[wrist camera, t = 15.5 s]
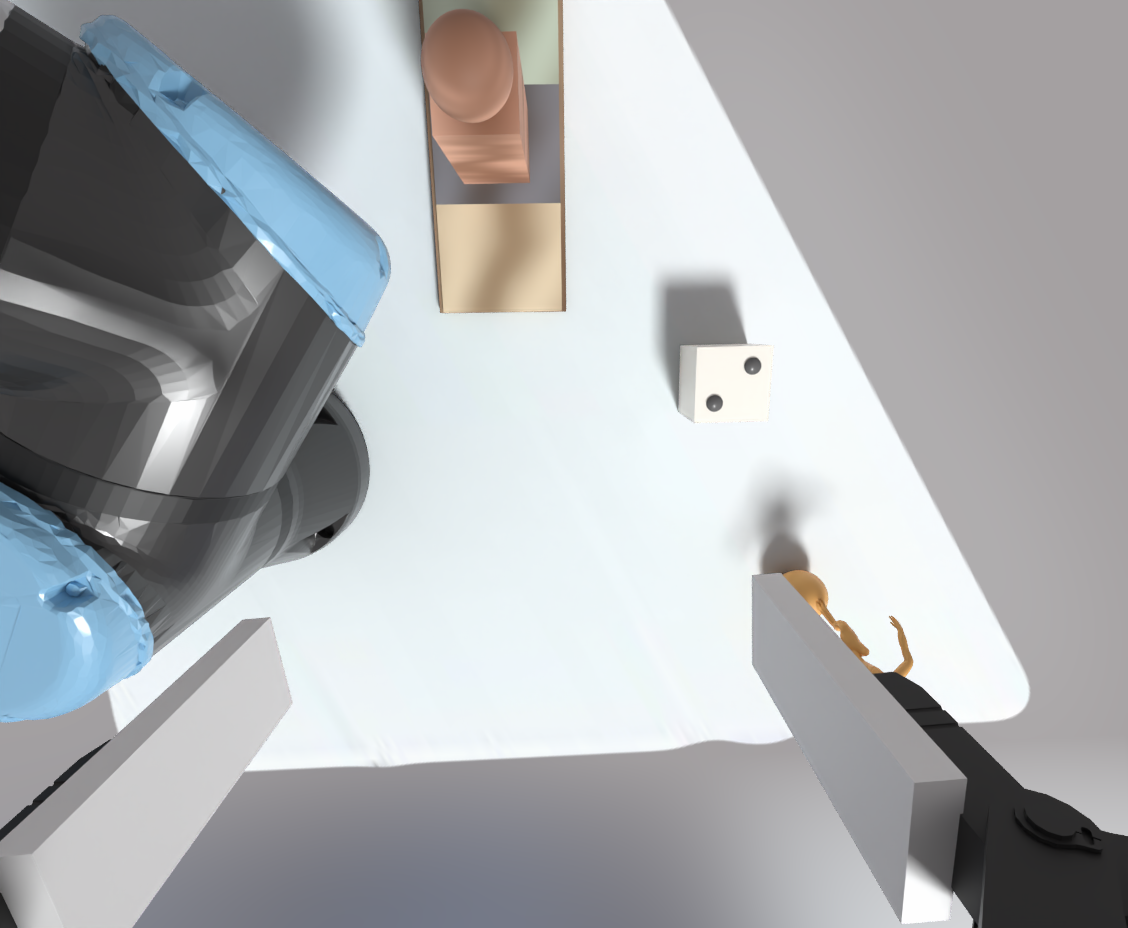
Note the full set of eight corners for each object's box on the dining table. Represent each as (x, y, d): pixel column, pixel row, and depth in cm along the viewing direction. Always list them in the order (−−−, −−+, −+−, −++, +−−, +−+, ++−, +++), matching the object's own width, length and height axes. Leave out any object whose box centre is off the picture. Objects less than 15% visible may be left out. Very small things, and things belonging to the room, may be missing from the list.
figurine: (825, 540, 43) (924, 619, 31) (854, 597, 44) (960, 692, 32) (734, 589, 44) (798, 682, 32) (766, 642, 45) (837, 751, 33)
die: (678, 411, 40) (694, 423, 35) (679, 345, 39) (697, 347, 34) (743, 410, 40) (768, 421, 35) (746, 343, 39) (774, 345, 34)
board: (442, 312, 38) (439, 312, 37) (419, -35, 33) (414, -47, 32) (565, 311, 38) (566, 310, 37) (561, -36, 33) (562, -49, 32)
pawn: (464, 184, 35) (412, 105, 23) (459, 109, 34) (402, -17, 22) (529, 182, 35) (513, 103, 23) (527, 107, 34) (508, -19, 22)
